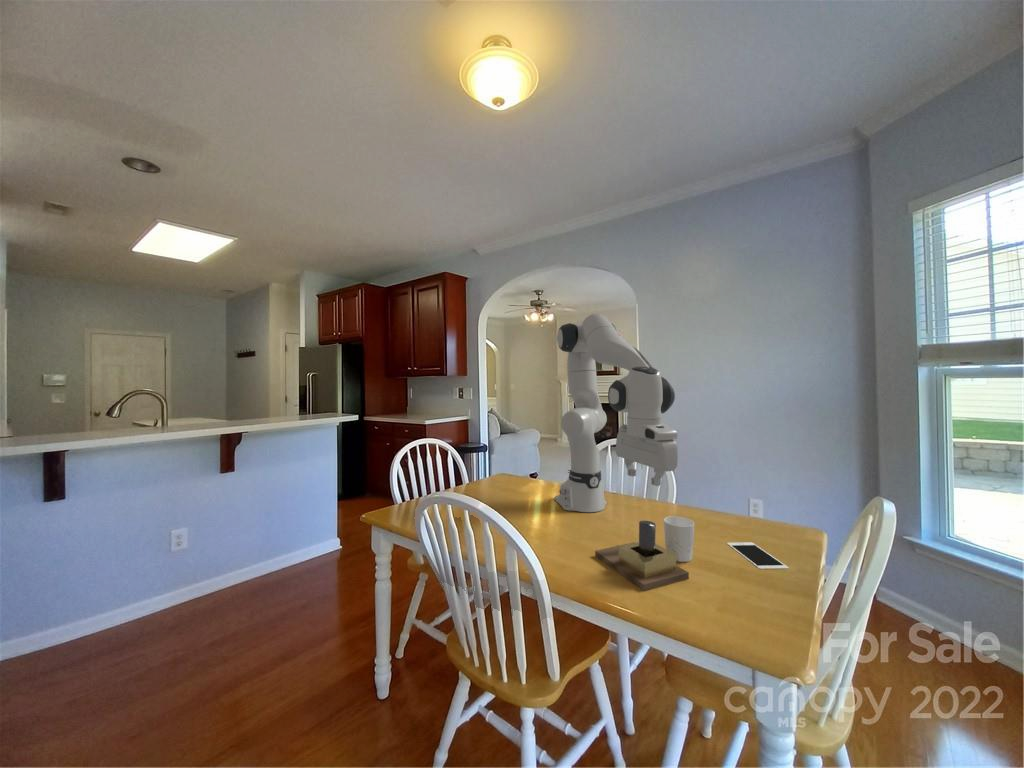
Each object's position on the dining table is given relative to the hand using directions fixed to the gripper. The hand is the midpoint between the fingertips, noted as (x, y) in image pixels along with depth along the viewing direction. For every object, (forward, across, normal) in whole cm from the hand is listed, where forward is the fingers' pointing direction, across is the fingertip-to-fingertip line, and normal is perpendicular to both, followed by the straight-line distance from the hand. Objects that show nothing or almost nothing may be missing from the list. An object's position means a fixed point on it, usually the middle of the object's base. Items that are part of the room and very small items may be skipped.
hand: (643, 480), depth 104 cm
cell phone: (+23, +8, +33) cm, 41 cm away
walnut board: (+23, 0, -1) cm, 23 cm away
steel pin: (+21, +3, -1) cm, 22 cm away
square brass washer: (+22, +3, -1) cm, 22 cm away
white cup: (+23, 0, +13) cm, 27 cm away
